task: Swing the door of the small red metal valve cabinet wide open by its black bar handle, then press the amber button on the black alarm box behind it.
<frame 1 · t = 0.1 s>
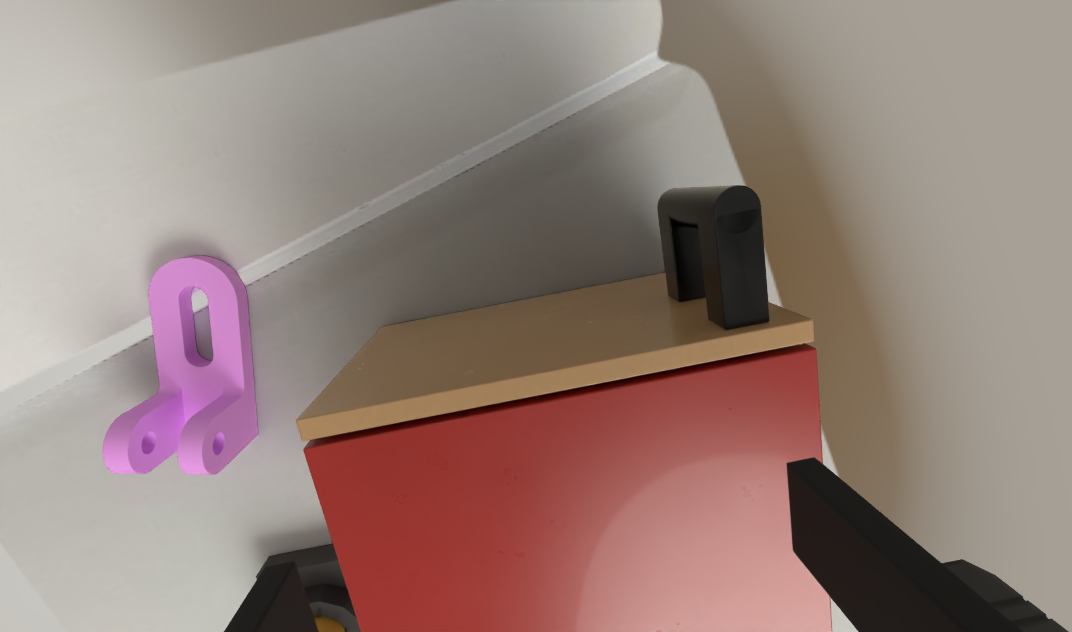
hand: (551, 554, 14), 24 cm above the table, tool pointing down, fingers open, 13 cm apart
cabinet door: (534, 280, 29), point 8 cm above the table, hinge at 0.0°
cabinet: (556, 414, 39), on the table
bracket: (211, 347, 36), on the table
alarm box: (336, 599, 41), on the table
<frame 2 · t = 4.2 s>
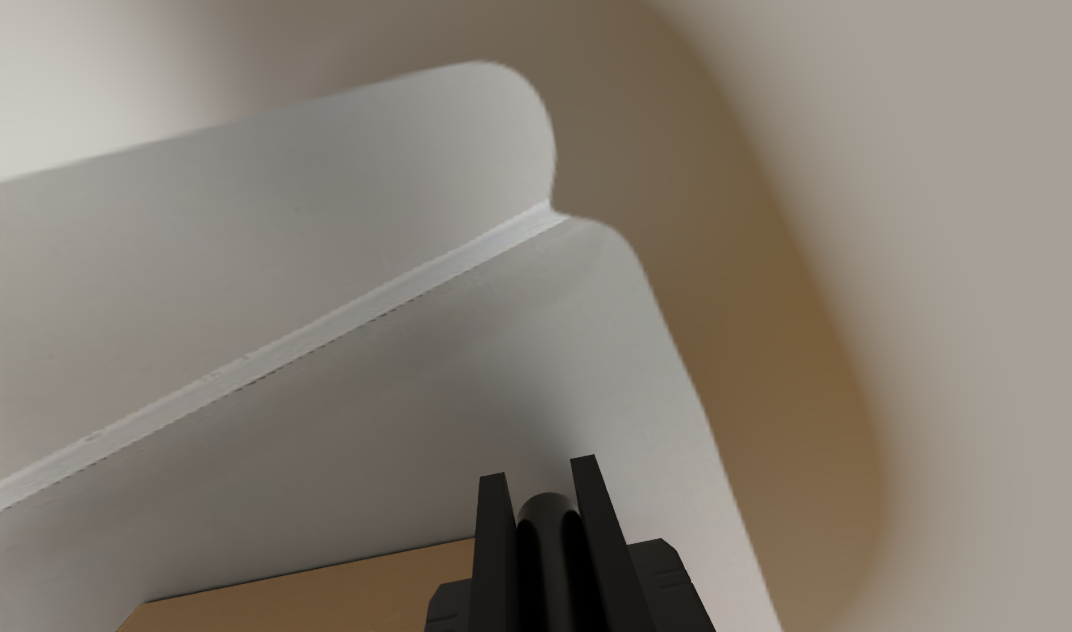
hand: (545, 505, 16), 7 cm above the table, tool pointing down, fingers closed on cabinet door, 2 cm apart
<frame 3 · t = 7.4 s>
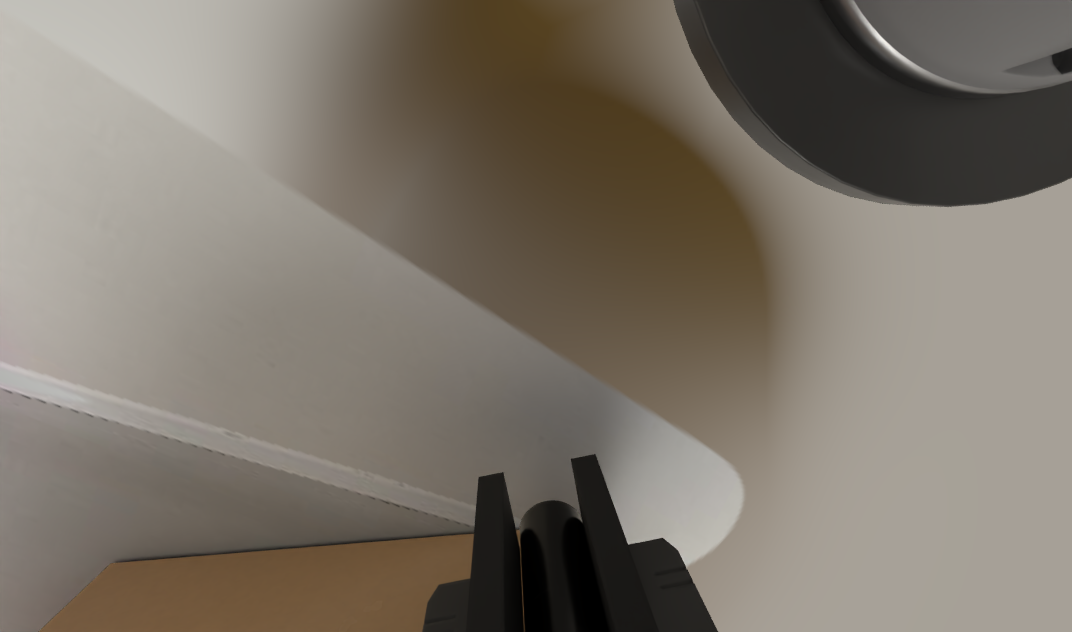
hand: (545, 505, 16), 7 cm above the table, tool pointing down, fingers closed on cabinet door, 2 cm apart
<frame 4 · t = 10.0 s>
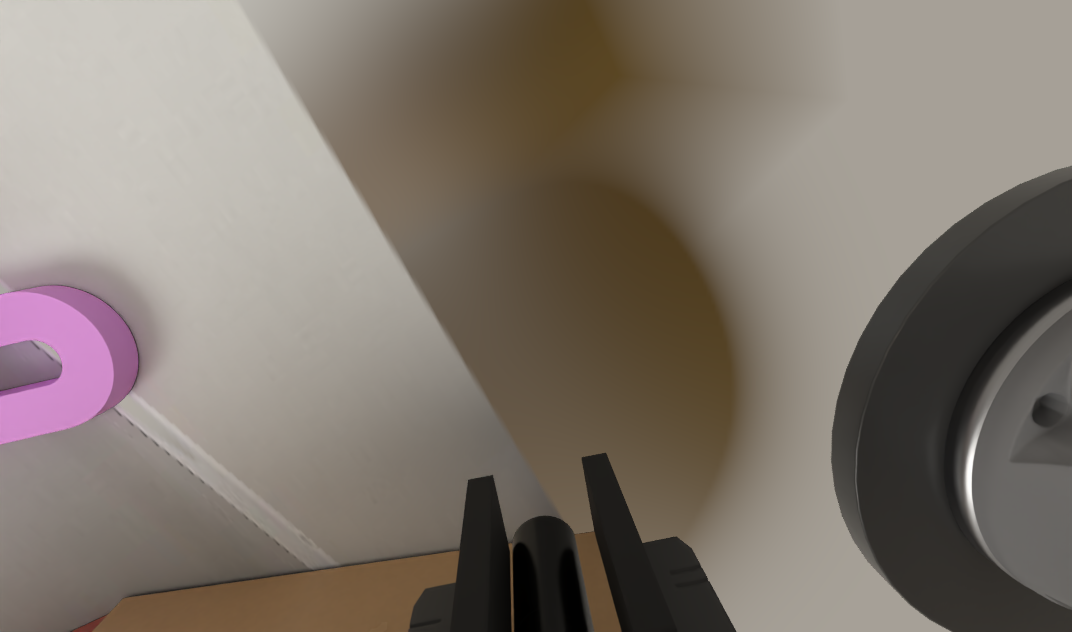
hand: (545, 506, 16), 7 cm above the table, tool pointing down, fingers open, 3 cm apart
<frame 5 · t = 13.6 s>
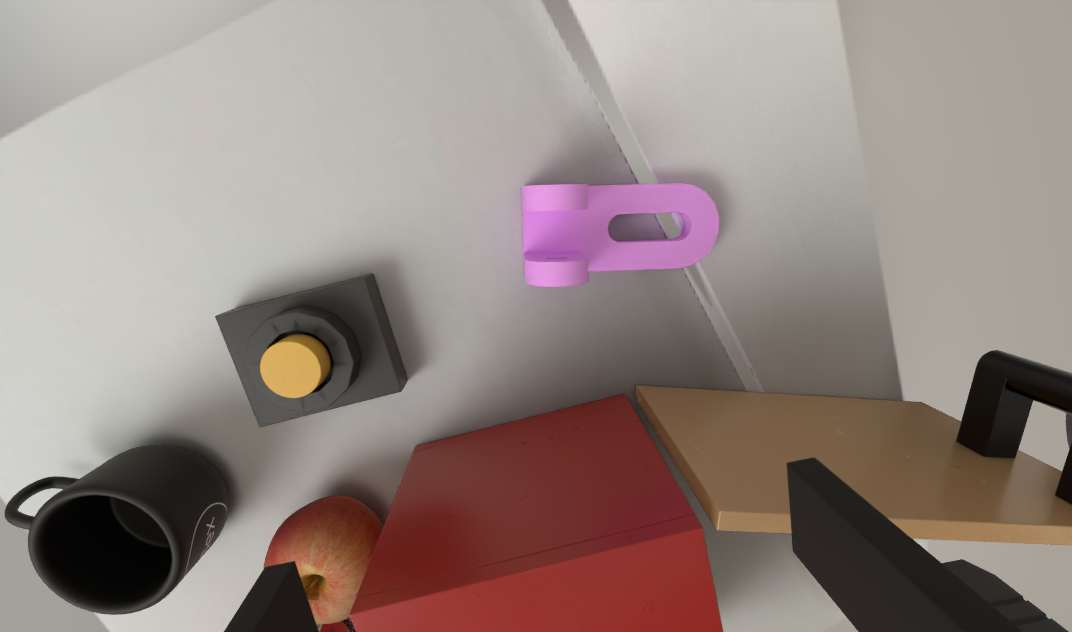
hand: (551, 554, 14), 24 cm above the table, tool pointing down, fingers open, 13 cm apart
apple: (346, 524, 40), on the table
cabinet door: (857, 402, 30), point 8 cm above the table, hinge at 71.5°
alarm button: (296, 365, 32), point 4 cm above the table, slide at 0.1 cm
cabinet: (554, 545, 41), on the table
bracket: (617, 227, 36), on the table
mug: (159, 482, 38), on the table
alarm box: (322, 345, 36), on the table
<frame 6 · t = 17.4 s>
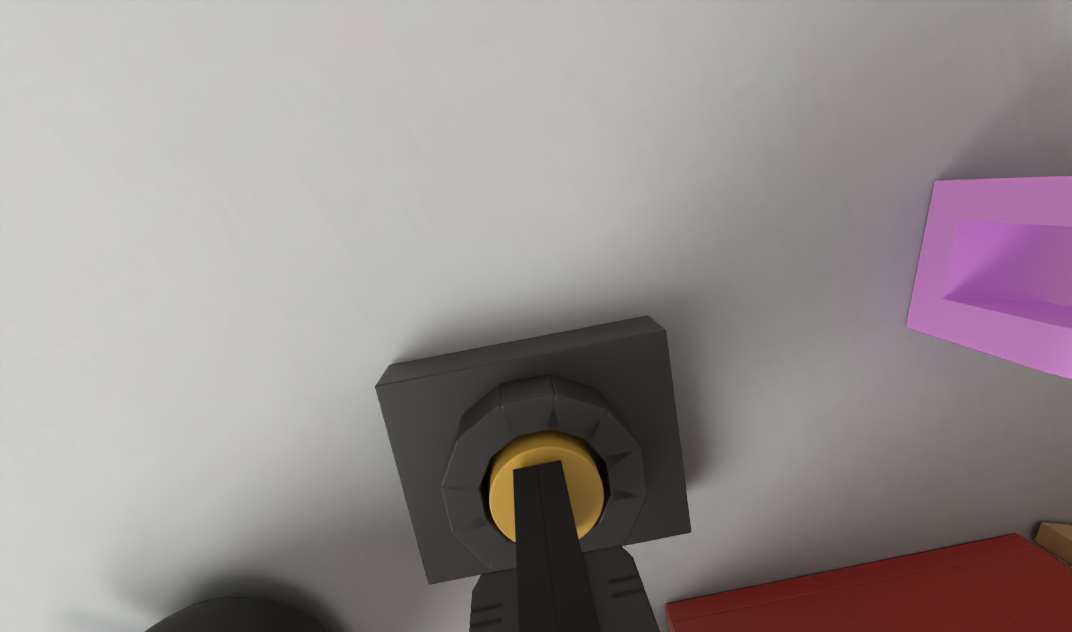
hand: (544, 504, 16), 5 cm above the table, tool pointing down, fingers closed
alarm button: (544, 484, 17), point 4 cm above the table, slide at -0.8 cm, touching gripper
alarm box: (537, 435, 20), on the table
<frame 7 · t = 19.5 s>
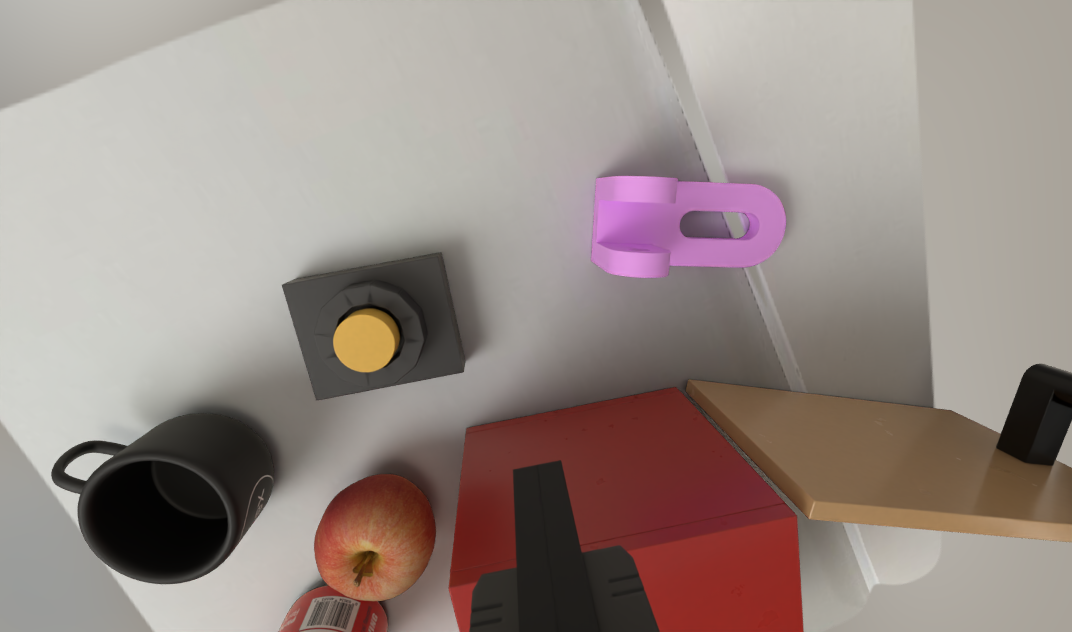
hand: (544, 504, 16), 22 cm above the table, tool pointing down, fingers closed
apple: (388, 503, 39), on the table
soda can: (341, 616, 41), on the table
cabinet door: (914, 405, 32), point 8 cm above the table, hinge at 71.5°
alarm button: (367, 339, 32), point 4 cm above the table, slide at 0.1 cm
cabinet: (593, 532, 41), on the table
bracket: (684, 223, 36), on the table
mug: (200, 452, 37), on the table
alarm box: (382, 321, 36), on the table
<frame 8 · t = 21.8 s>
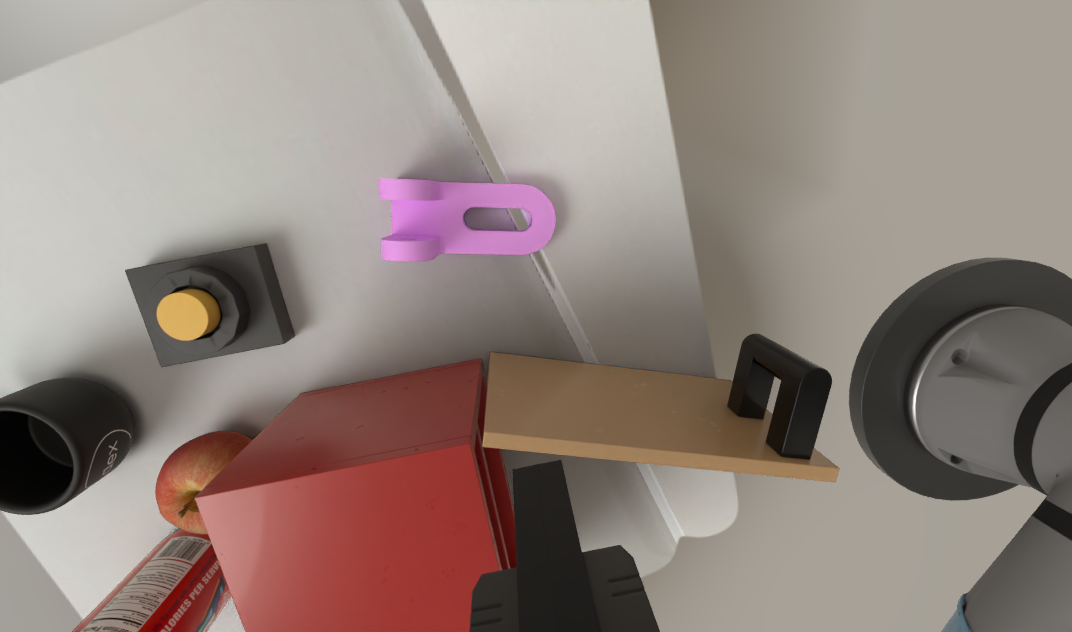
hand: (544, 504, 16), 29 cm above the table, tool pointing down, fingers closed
apple: (239, 458, 46), on the table
soda can: (205, 557, 48), on the table
cabinet door: (641, 368, 38), point 8 cm above the table, hinge at 71.5°
alarm button: (189, 314, 38), point 4 cm above the table, slide at 0.1 cm
cabinet: (420, 486, 48), on the table
bracket: (475, 218, 43), on the table
mug: (74, 413, 44), on the table
alarm box: (221, 302, 43), on the table
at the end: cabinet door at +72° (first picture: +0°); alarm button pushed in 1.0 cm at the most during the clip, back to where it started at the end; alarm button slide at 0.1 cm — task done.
